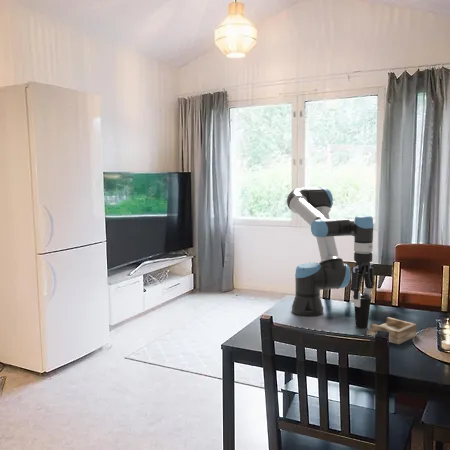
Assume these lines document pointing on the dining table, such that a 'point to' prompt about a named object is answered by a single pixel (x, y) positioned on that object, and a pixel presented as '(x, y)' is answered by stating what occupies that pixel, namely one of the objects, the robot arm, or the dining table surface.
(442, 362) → the dining table surface
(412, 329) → the tray
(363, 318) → the drinking cup
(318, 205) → the robot arm
